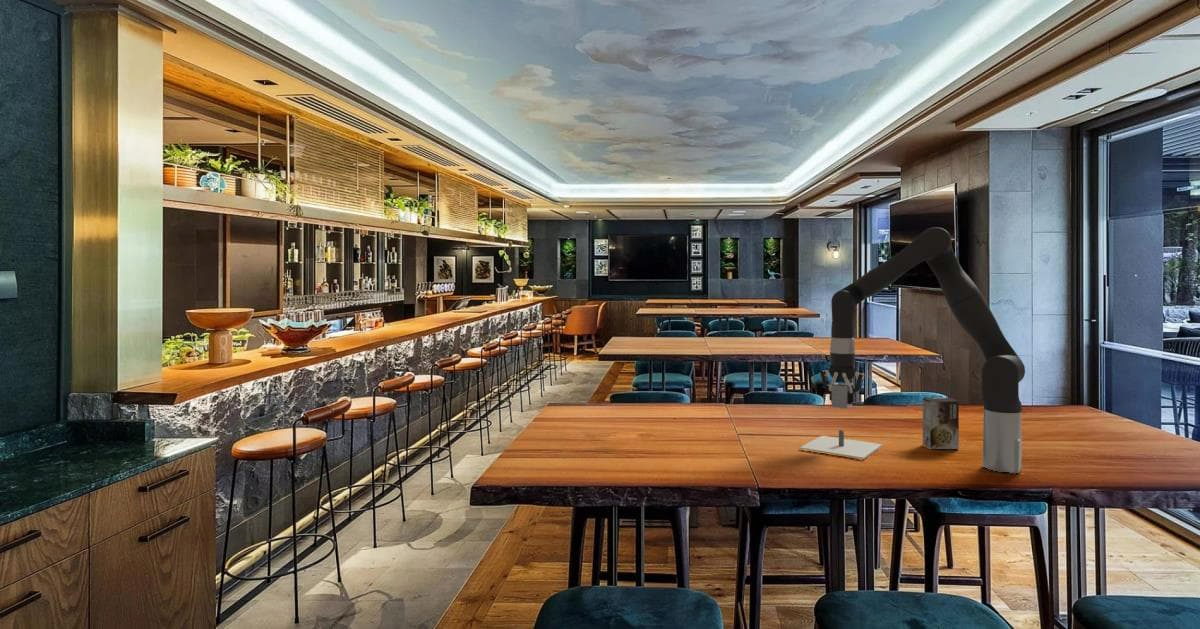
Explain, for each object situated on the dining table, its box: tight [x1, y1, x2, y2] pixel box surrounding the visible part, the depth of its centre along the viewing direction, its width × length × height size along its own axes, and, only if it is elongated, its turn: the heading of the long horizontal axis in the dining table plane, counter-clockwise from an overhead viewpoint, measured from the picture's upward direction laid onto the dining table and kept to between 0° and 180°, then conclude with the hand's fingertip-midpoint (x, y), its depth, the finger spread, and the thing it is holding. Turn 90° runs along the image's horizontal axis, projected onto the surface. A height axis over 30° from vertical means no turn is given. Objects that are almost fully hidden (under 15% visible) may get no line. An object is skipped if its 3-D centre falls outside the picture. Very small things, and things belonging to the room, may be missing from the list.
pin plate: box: [799, 429, 883, 460], centre depth 207 cm, size 20×20×6 cm
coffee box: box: [922, 397, 960, 450], centre depth 207 cm, size 9×6×16 cm
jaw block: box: [831, 383, 853, 409], centre depth 207 cm, size 5×5×7 cm
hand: (841, 402), depth 207 cm, fingers closed on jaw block, 5 cm apart
